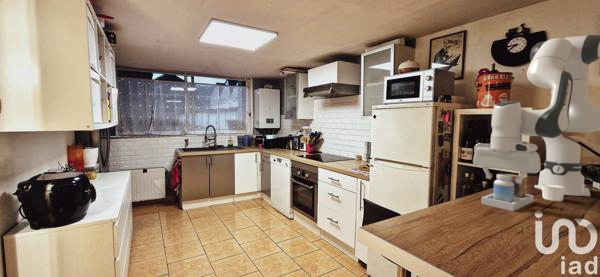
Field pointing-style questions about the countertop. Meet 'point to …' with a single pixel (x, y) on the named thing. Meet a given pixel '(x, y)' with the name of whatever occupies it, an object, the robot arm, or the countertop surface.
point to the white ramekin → (553, 192)
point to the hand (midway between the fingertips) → (503, 180)
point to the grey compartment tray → (506, 205)
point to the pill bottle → (504, 188)
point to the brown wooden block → (519, 186)
